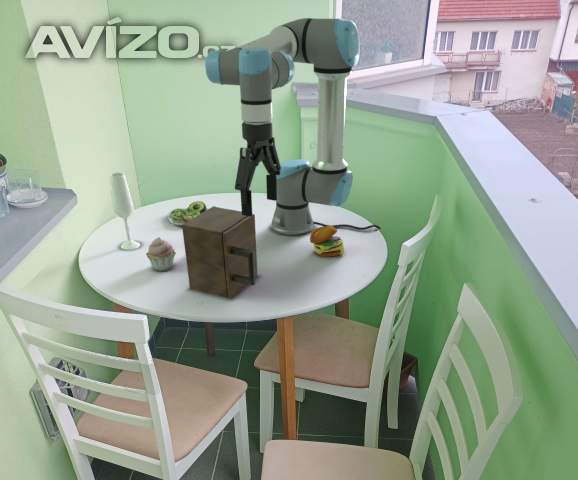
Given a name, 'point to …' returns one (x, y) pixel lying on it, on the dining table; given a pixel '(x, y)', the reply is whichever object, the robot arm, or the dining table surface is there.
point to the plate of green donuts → (186, 213)
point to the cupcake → (161, 255)
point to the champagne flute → (122, 205)
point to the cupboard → (208, 249)
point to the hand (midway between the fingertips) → (259, 207)
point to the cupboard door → (240, 255)
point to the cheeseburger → (326, 241)
